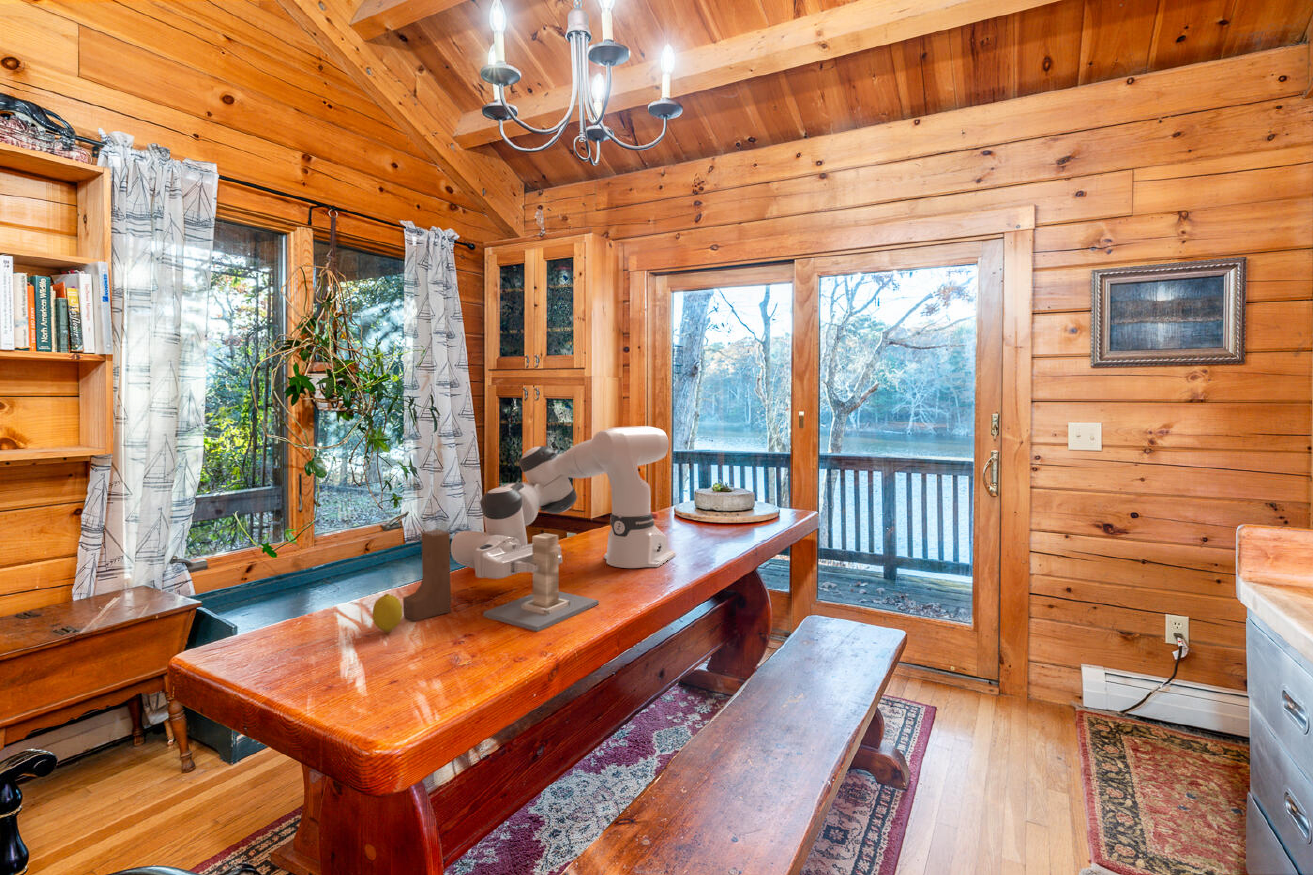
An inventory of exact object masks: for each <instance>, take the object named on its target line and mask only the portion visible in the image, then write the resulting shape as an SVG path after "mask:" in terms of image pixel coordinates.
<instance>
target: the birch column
mask: <svg viewBox="0 0 1313 875" xmlns="http://www.w3.org/2000/svg"><path fill="white" fill-rule="evenodd" d="M531 539H532V541H531V542H532V550H533V563H537V564H538V571H536V572H533V573H532V594H533V605H534V606H538V607H542V608H546V609H547V608H550V607H552V606H555V605H557V604H559V590H560V589H559V588H560V587H559V584H560V580H559V579H560V578H559V564H558V544H559V534H553V533H548V532H544V533H540V534H536V535H532V537H531Z"/></svg>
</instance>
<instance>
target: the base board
mask: <svg viewBox="0 0 1313 875" xmlns="http://www.w3.org/2000/svg"><path fill="white" fill-rule="evenodd" d="M599 603H600V602H599V599H595V598H594V599H593V598H590V597H585V596H581V595H577V594H572V593H567V592H563V591H559V604H557V605H555V606H552V607H550V608H547V609H546V608H542V607H538V606H534V605H533V593H531V594H528V595H526V596H523V597H520V598H517V599H514V600H512V601H509V602H507V603H504V604H501V605H498V606H496V607H493V608H491V609H488V610H486V611H483V612H482V614H483V617H484V618H488V619H490V620H495V621H499V622H501V623H505V624H509V625H512V626H516V627H519V628H523V629H526V630H530V631H533V632H536V633H537V632H539V631H542V630H544V629H547V628H549V627H551V626H554V625H556V624H559V623H560V622H563V621H564V620H567V619H569V618H571V617H574V616H576V615H579V614H581V613H582V612H585V611H588V610H590V609H592V608H594V607H596V606H595V605H597V604H599ZM593 606H594V607H593ZM597 606H598V605H597ZM591 607H592V608H591ZM589 608H590V609H589ZM587 609H588V610H587Z"/></svg>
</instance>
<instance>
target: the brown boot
mask: <svg viewBox="0 0 1313 875" xmlns="http://www.w3.org/2000/svg"><path fill="white" fill-rule="evenodd" d="M450 539H451V538H450V532H449V531H445V530H442V529H435V530H428V531H424V532H422V533H421V564H422V577H421V582H420V586H418V588H417V589H416V591H415V592H413V593H411V594H408V595H406V596H404V597H403V600H402V601H403V603H402V604H403V607H402V608H403V618H405V619H406V620H408V621H410V622H413V623H414V622H418V621H421V620H424V619H425V620H427V619H429V618H433V617H436V616H441V615H444V614H448V613H450V612H452V602H451V601H452V597H451V596H452V592H451V590H452V589H451V553H450V552H451V543H450Z"/></svg>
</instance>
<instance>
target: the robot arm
mask: <svg viewBox="0 0 1313 875" xmlns="http://www.w3.org/2000/svg"><path fill="white" fill-rule="evenodd" d="M669 448H670V442H669V437H668V435H667V434H666V432H665V431H664V430H663V429H661V428H659V427H658V428H657V427H654V426H649V425H639V426H618V427H609V428H606V429H604V430H600V431H598V432H596V433H595V435H594V436H593V438H590V439H587V440H585V441H582V442H579V443H577V444H575V445H572V446H571V447H570V448H568V449H567V450H565V451H564V452H562V453H560V454H559V453H558V451H559V449H557V448H551V447H550V446H547V445H546V446H545V445H540V446H534V447H532V448H530V449H528V450H527V451H526V452H525V453H524V454H522V456H521V457H520V458H519V463H518V464H519V467H520V469H521V471H522V473H524V476H525V478H526V480H527V482H525V481H521V482H519V481H515V482H506V483H503V484H501V485H500V486H498V487H495V488H492V489H490V490H488V491H486V492H485V493H484V494H483V496H482V497H481V499H480V501H479V504H480V507H481V508H480V509H481V512H482V515H483V521H484V528H485V531H476V530H462V531H459V532H457V533H456V534H455V535H454V536H453V537H452V540H451V543H450V552H451V553H450V555H451V557H452V559H453V560H454V561H456V563H458V564H460V565H461V566H464V567H467V568H470V569H474V572H475V577H476V578H478V579H483V578H484V579H485V578H486V579H492V580H499V579H505V578H507V577H510V576H514V575H516V574H519V573H532V574H533V572H536V571H538V564H537V563H533V550H532V543H528V536H527V531H526V530H527V529H526V527H527V526H529V525H531V524H532V523H533V522H534V521H535V520H536V518H537V516H538V514H539V511H540V512H542V513H548V514H552V515H553V514H554V515H556V514H561V513H564V512H566V511H568V510H569V509H571V507H572V506H573V505H574V504H575V503H576V502H577V499H578V494H577V492H576V490H575V488H574V487H573V485H572V483H571V481H570V479H588V478H592V477H596V476H601V475H604V474H606V476H607V478H608V481H609V484H610V490H611V491H610V492H611V493H610V494H611V513H610V517H609V521H610V522H609V523H610V524H609V526H610V527H611V528H610V530H608V534H607V535H608V536H607V548H606V553H604V556H603V557H604V559H605V560H606V561H605V562H606V564H607V565H609V566H611V567H616V568H622V569H623V568H624V569H640V568H658V567H661V566H662V565H664V564H665V563H666V561H667V560H668V561H670V560H672V559H673V558H674V557H676V555H677V554H676V551H674V550H672V549H669V547H668V538H667V536H666V534H665V533H663V532H662V531H661V529H659V528H658V527H657V526H656V525H655V520H657V521H658V519H659V518H660V513H659V512H654V511H651V492H652V490H651V487H650V484H649V483H648V482H647V481H646V480H645V479H643V478H642V477H641V475H640V473H639V469H638V467H640V466H641V467H642V466H645V465H649V464H652V463H655V462H658V461H660V460H663V459H664V458H665V457H666V456H667V454H668V452H669ZM569 478H570V479H569ZM561 548H562V547H561V545H560V544H559V543H558V565H560V564H562V563H563V556H562V549H561ZM668 561H667V562H668ZM663 563H664V564H663ZM660 565H661V566H660Z"/></svg>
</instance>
